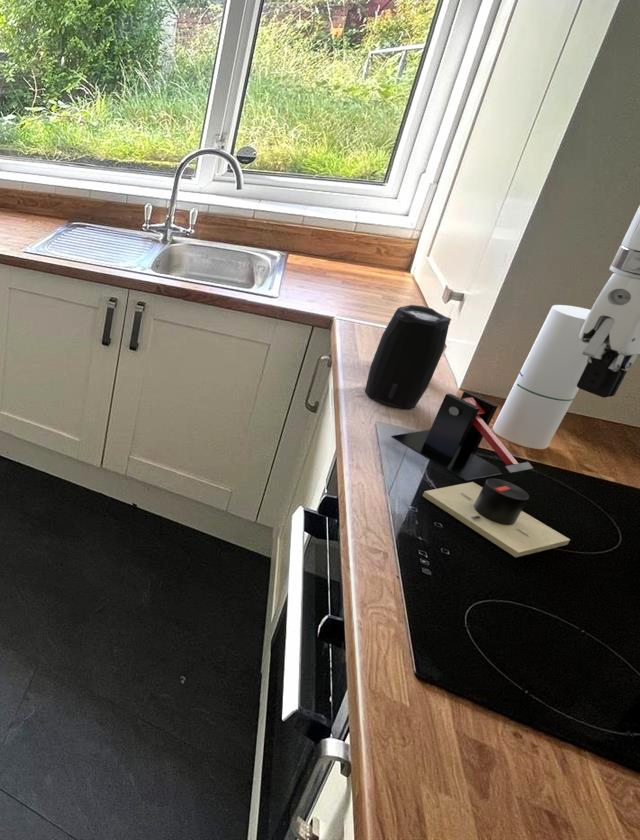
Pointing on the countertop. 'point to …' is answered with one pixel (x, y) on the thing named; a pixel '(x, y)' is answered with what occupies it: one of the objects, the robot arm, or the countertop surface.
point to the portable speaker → (407, 356)
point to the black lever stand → (455, 438)
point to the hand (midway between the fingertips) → (594, 391)
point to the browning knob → (501, 501)
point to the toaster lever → (497, 444)
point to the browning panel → (510, 538)
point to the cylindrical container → (546, 381)
